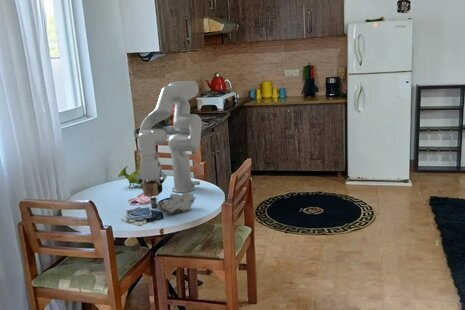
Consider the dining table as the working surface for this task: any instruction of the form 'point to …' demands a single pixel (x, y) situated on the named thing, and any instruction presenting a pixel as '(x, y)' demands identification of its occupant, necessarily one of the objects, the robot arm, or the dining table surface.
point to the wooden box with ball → (151, 188)
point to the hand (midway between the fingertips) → (153, 191)
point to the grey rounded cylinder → (153, 202)
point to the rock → (176, 203)
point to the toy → (131, 176)
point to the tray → (129, 212)
